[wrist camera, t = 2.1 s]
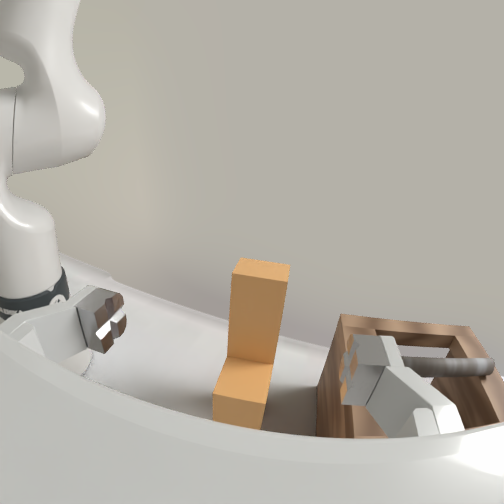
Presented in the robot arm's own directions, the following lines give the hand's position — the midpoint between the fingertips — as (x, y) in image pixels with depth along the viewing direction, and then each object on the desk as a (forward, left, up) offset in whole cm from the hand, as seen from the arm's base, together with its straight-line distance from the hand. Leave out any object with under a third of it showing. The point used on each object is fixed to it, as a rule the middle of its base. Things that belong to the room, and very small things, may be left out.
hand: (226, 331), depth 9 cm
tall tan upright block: (0, +12, -25) cm, 28 cm away
